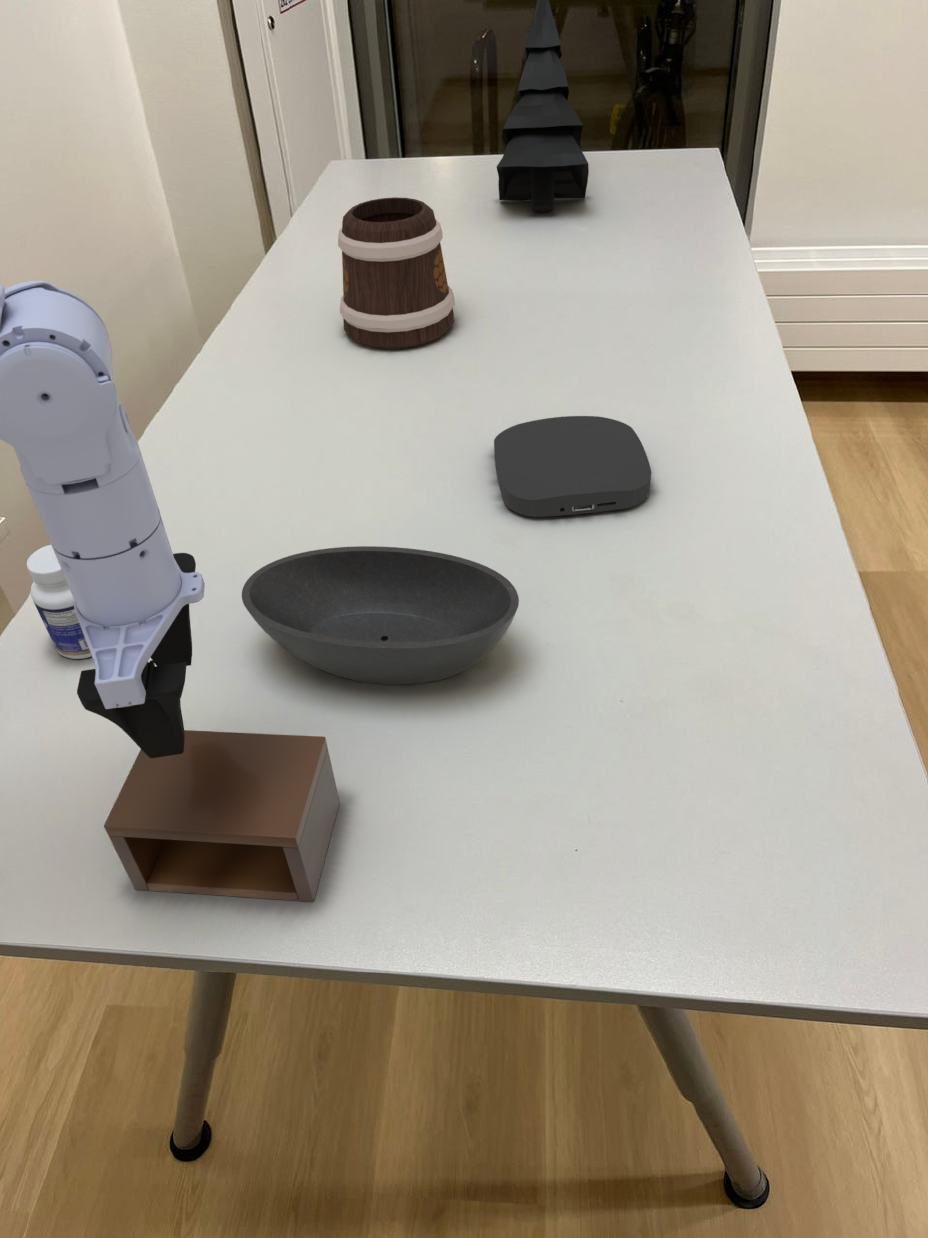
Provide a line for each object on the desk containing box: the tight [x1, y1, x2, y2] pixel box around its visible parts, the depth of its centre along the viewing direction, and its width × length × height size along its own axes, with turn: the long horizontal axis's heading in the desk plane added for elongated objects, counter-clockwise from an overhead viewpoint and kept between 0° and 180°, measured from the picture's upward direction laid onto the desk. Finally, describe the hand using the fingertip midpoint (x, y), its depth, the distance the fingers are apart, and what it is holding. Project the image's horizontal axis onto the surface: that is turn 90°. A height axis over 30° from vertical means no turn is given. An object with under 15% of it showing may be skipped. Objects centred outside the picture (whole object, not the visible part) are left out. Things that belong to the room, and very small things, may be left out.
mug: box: [337, 196, 456, 350], centre depth 123 cm, size 20×15×15 cm
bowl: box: [241, 545, 520, 685], centre depth 76 cm, size 12×22×6 cm, turn 79°
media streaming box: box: [493, 415, 652, 518], centre depth 95 cm, size 15×15×3 cm
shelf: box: [103, 729, 341, 903], centre depth 62 cm, size 12×8×7 cm, turn 84°
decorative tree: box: [496, 0, 590, 214], centre depth 153 cm, size 15×15×35 cm
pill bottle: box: [26, 544, 92, 660], centre depth 78 cm, size 5×5×9 cm
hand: (171, 705), depth 59 cm, fingers open, 7 cm apart
